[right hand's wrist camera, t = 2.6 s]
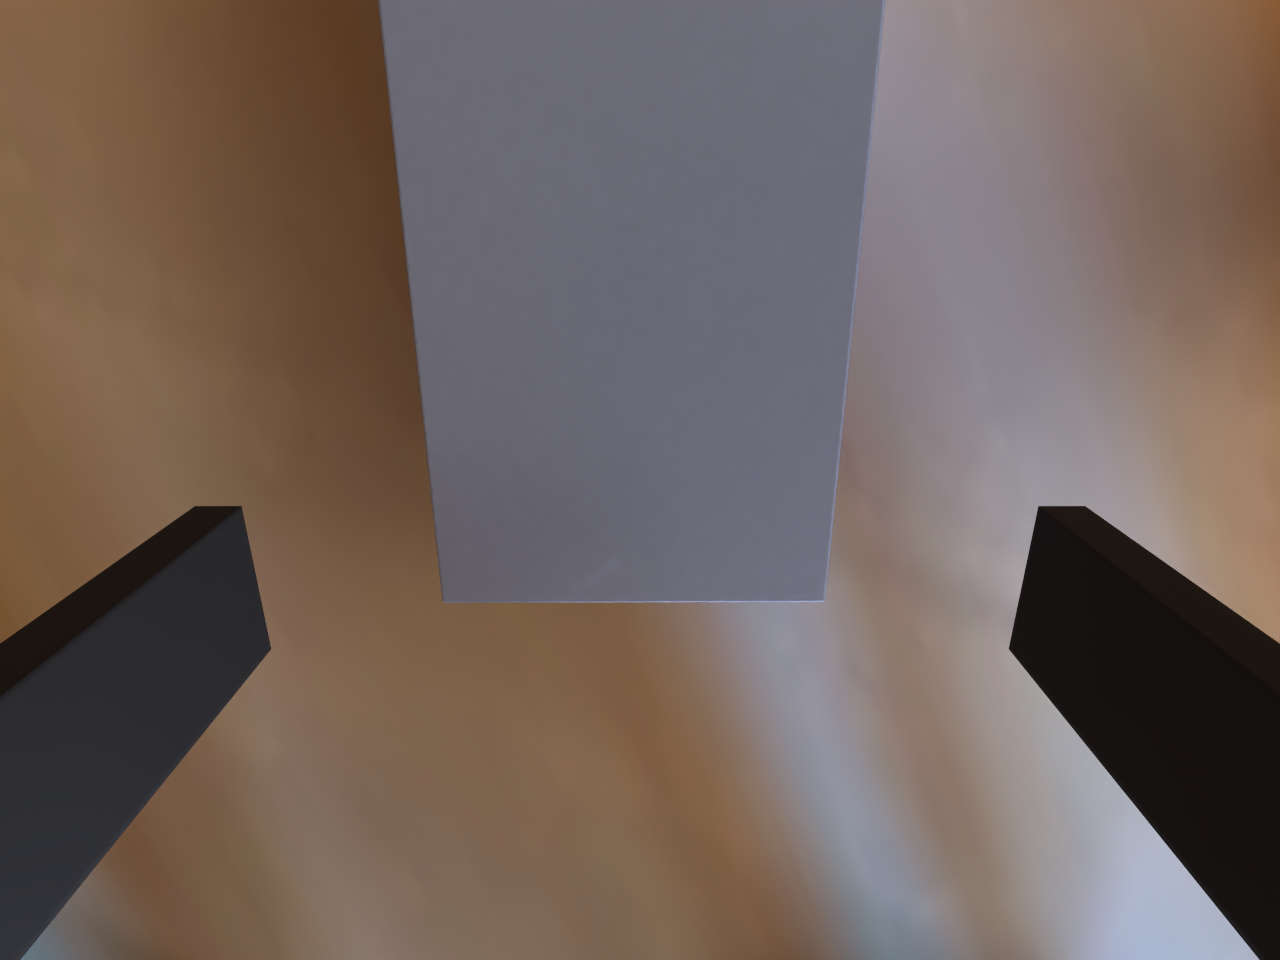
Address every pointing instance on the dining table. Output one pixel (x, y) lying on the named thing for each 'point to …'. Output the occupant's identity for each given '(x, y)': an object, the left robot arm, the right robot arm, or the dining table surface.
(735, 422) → the grey rectangular box
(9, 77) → the dining table surface
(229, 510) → the right robot arm
